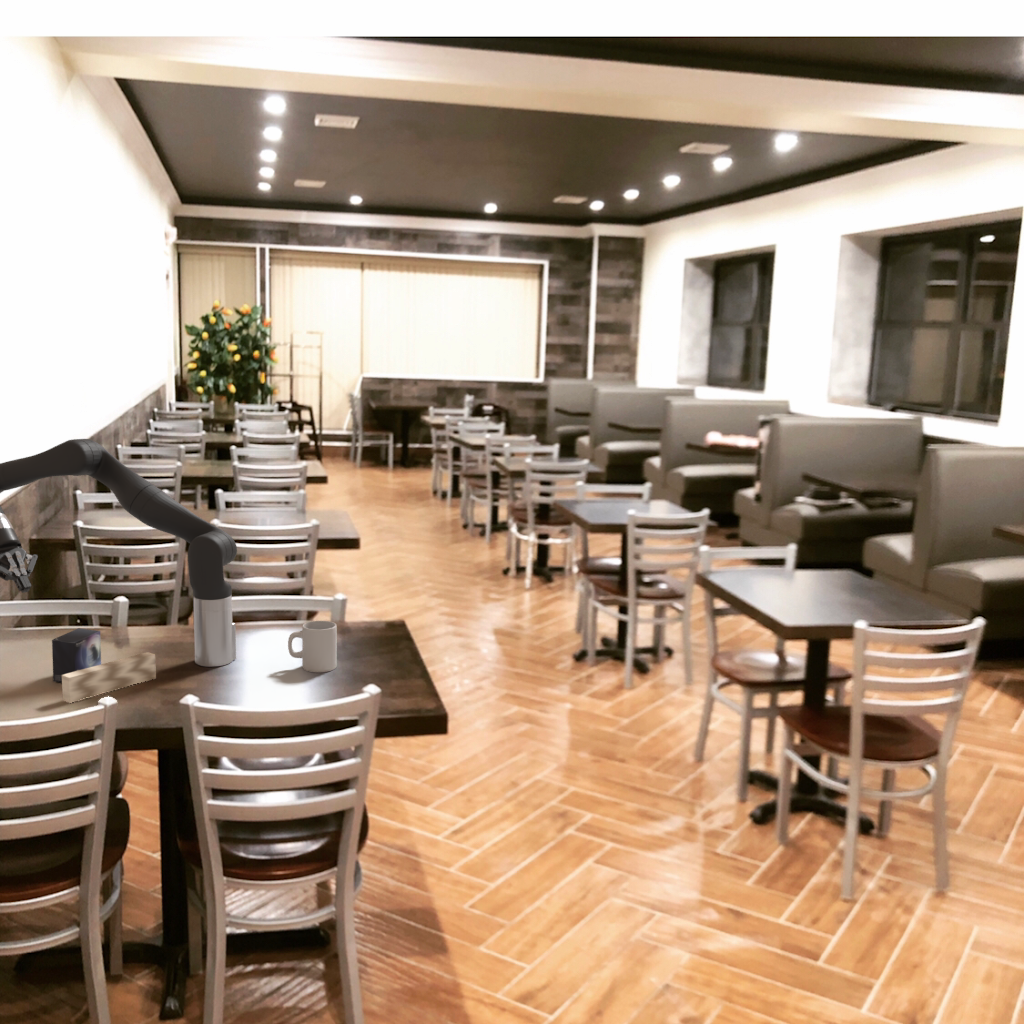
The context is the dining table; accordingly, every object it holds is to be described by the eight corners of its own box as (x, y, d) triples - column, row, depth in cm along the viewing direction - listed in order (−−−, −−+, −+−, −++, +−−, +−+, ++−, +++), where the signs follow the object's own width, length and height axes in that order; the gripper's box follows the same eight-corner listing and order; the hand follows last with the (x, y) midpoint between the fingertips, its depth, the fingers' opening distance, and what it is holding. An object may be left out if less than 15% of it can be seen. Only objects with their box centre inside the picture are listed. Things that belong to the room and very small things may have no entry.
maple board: (148, 675, 243) (147, 651, 242) (156, 678, 242) (155, 654, 241) (62, 700, 226) (61, 674, 225) (70, 703, 224) (69, 677, 223)
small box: (76, 685, 236) (74, 642, 234) (51, 682, 237) (49, 639, 235) (103, 671, 246) (101, 629, 244) (79, 668, 247) (77, 627, 245)
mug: (336, 661, 259) (336, 620, 257) (337, 672, 250) (337, 629, 249) (288, 662, 256) (288, 621, 254) (287, 673, 248) (287, 630, 246)
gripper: (-23, 529, 249) (5, 586, 244) (29, 523, 259) (57, 577, 254) (-33, 547, 253) (-5, 603, 248) (19, 540, 263) (46, 594, 258)
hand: (26, 590), depth 251 cm, fingers closed
